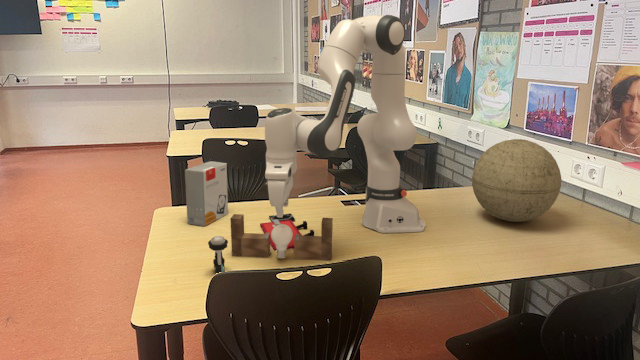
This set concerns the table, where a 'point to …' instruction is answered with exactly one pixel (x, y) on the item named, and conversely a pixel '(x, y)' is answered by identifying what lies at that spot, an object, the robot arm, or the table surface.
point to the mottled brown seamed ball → (516, 180)
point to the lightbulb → (281, 238)
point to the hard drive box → (206, 193)
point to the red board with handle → (287, 221)
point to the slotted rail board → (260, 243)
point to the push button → (218, 252)
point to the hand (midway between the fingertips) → (282, 211)
